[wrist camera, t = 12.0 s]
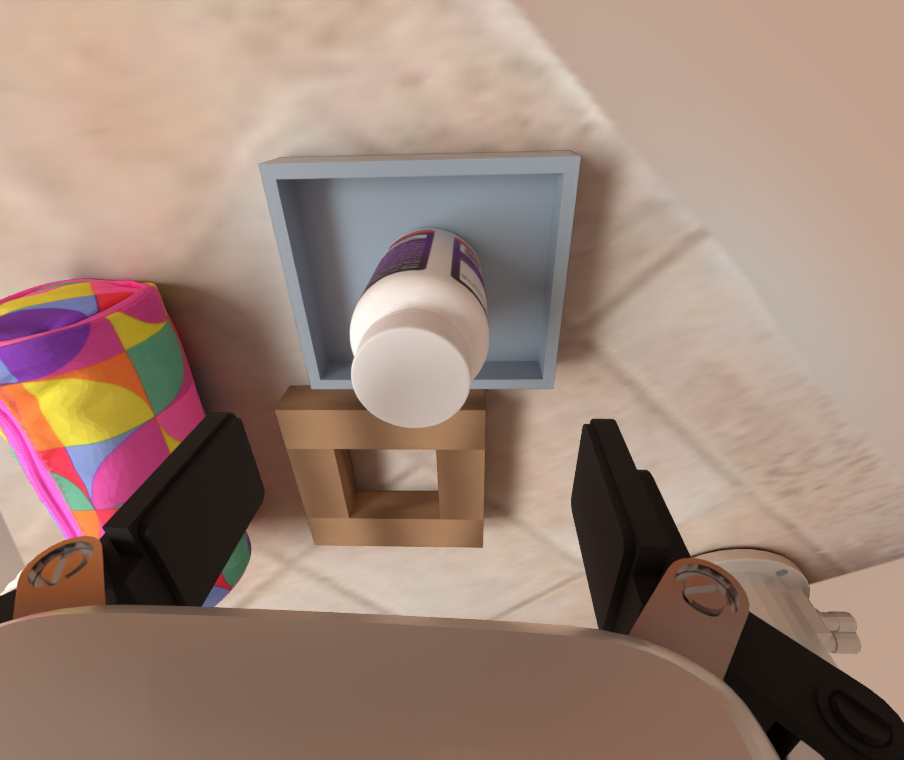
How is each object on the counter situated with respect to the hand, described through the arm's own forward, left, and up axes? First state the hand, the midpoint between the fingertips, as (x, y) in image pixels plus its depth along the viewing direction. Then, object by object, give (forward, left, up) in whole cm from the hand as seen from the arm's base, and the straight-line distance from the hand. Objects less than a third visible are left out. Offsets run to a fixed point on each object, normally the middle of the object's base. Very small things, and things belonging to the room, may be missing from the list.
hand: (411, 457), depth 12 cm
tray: (+1, -1, -13) cm, 13 cm away
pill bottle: (0, -1, -13) cm, 13 cm away
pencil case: (+18, +9, -14) cm, 25 cm away
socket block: (+4, +12, -13) cm, 18 cm away
